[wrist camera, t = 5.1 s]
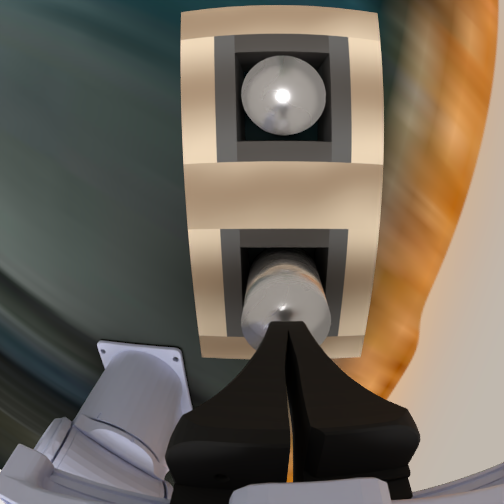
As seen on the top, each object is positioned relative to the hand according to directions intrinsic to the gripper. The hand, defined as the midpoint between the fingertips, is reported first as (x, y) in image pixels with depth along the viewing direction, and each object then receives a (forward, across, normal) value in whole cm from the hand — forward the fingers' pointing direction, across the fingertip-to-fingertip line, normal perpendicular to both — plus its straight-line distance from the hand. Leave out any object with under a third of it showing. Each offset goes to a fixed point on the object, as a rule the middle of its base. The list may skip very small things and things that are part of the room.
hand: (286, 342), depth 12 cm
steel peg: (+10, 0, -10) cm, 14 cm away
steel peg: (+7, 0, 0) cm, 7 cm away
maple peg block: (+10, 0, -5) cm, 11 cm away
